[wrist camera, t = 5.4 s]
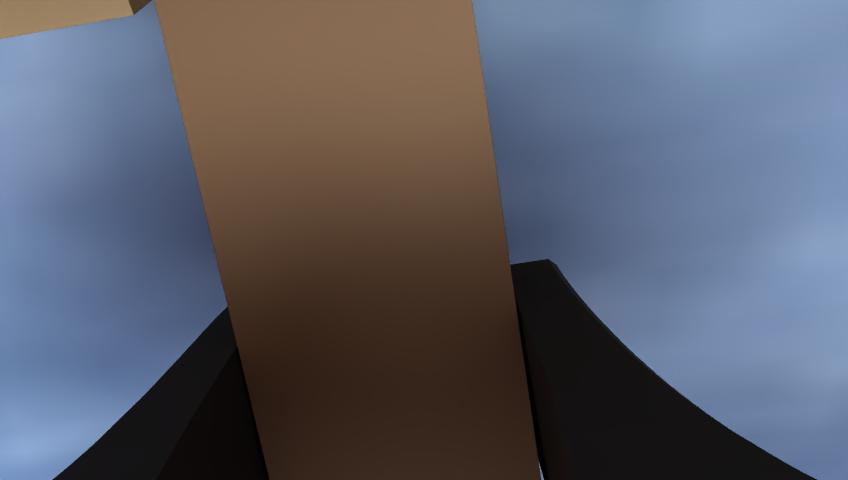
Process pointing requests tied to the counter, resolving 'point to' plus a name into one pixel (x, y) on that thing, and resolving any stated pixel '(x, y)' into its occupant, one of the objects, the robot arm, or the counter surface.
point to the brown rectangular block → (357, 233)
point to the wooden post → (60, 14)
